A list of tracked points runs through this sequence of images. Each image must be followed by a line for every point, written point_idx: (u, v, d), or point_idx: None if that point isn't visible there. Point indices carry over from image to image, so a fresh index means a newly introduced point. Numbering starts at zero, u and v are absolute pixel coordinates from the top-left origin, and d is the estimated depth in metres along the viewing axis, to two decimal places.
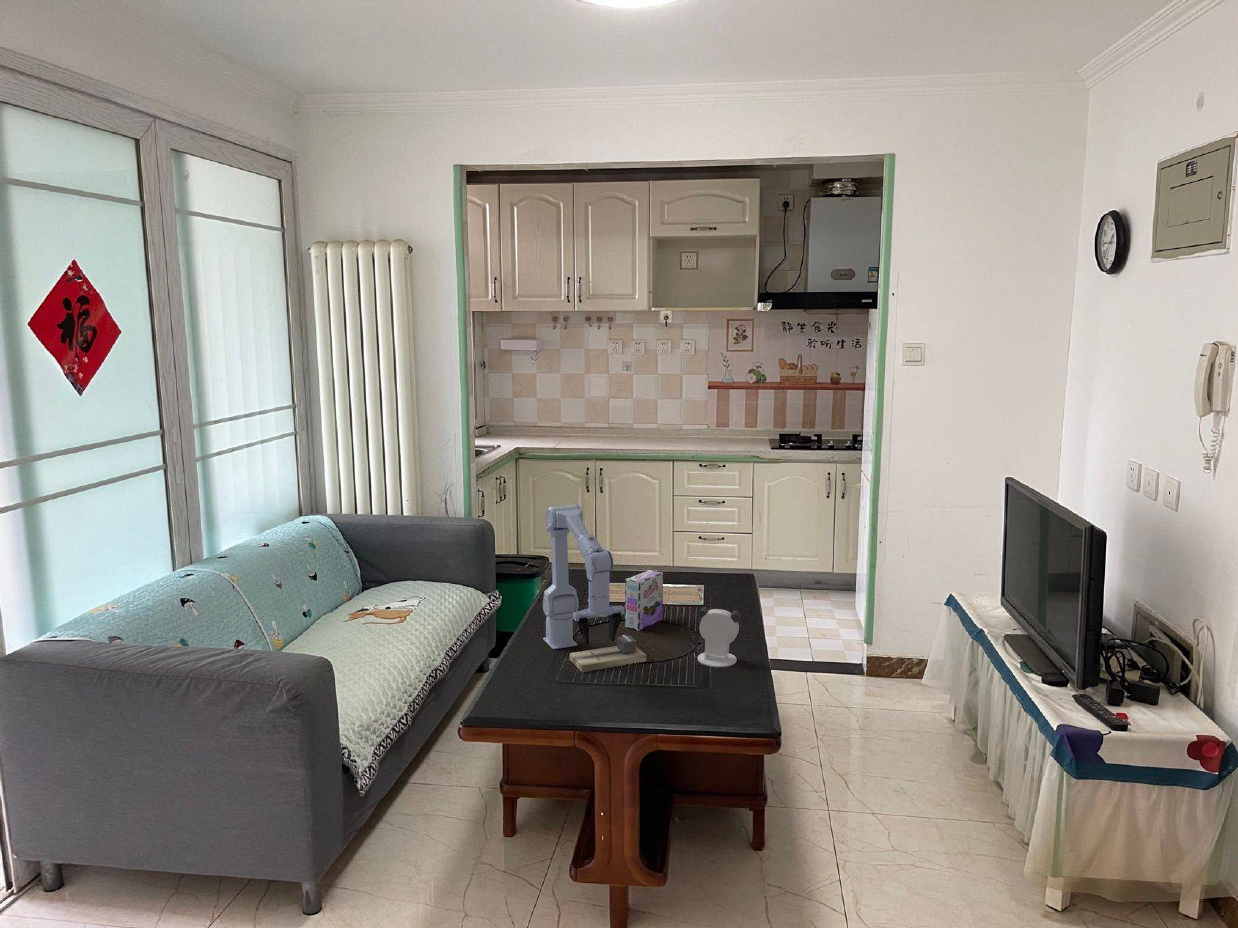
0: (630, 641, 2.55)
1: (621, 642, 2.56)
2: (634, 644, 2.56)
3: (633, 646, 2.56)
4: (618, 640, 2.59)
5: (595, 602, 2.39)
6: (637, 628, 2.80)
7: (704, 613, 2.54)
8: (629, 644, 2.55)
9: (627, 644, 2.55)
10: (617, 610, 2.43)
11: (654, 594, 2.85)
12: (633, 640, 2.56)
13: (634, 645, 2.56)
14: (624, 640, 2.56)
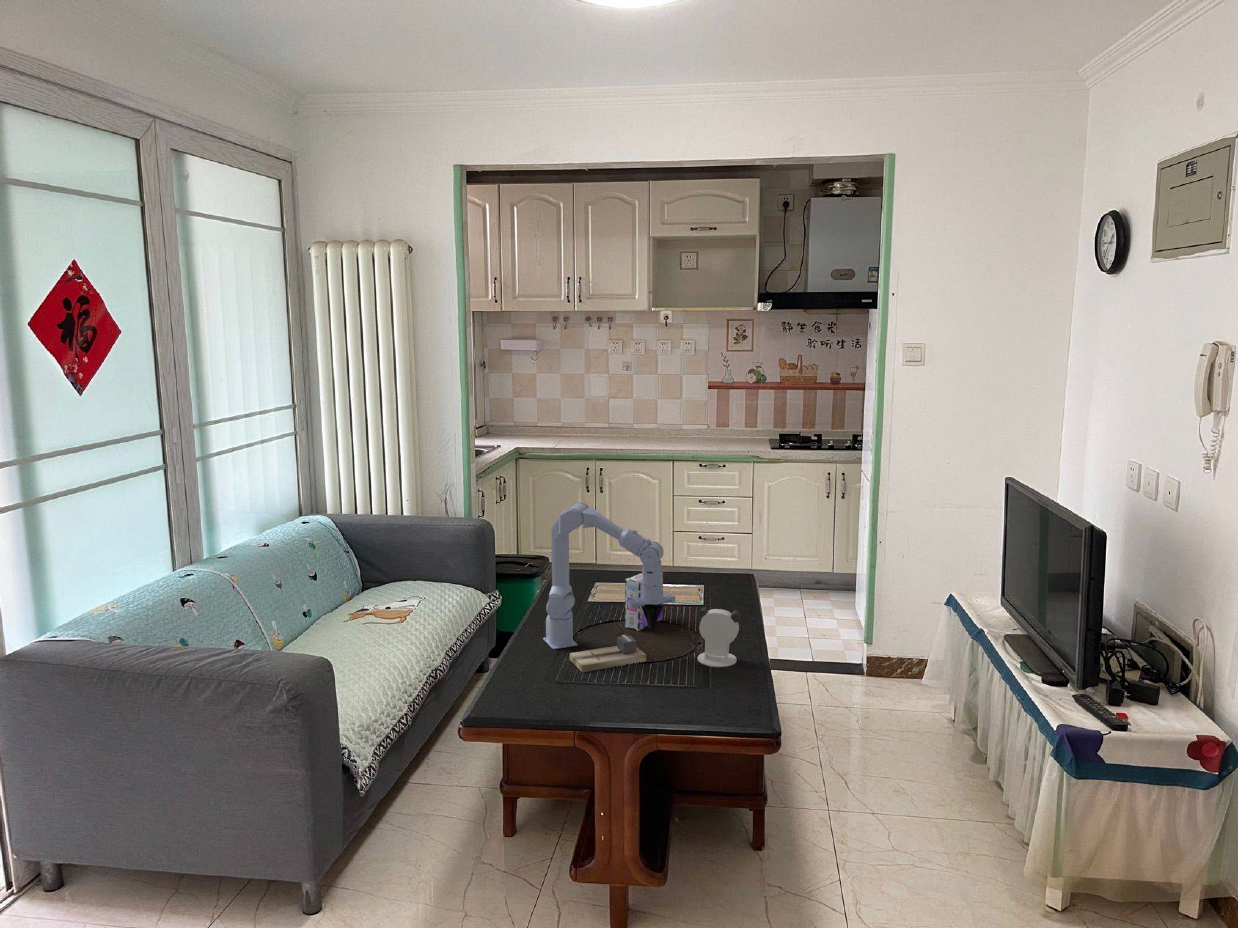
0: (630, 641, 2.55)
1: (621, 642, 2.56)
2: (634, 644, 2.56)
3: (633, 646, 2.56)
4: (618, 640, 2.59)
5: (649, 591, 2.56)
6: (637, 628, 2.80)
7: (704, 613, 2.54)
8: (629, 644, 2.55)
9: (627, 644, 2.55)
10: (668, 598, 2.60)
11: None
12: (633, 640, 2.56)
13: (634, 645, 2.56)
14: (624, 640, 2.56)
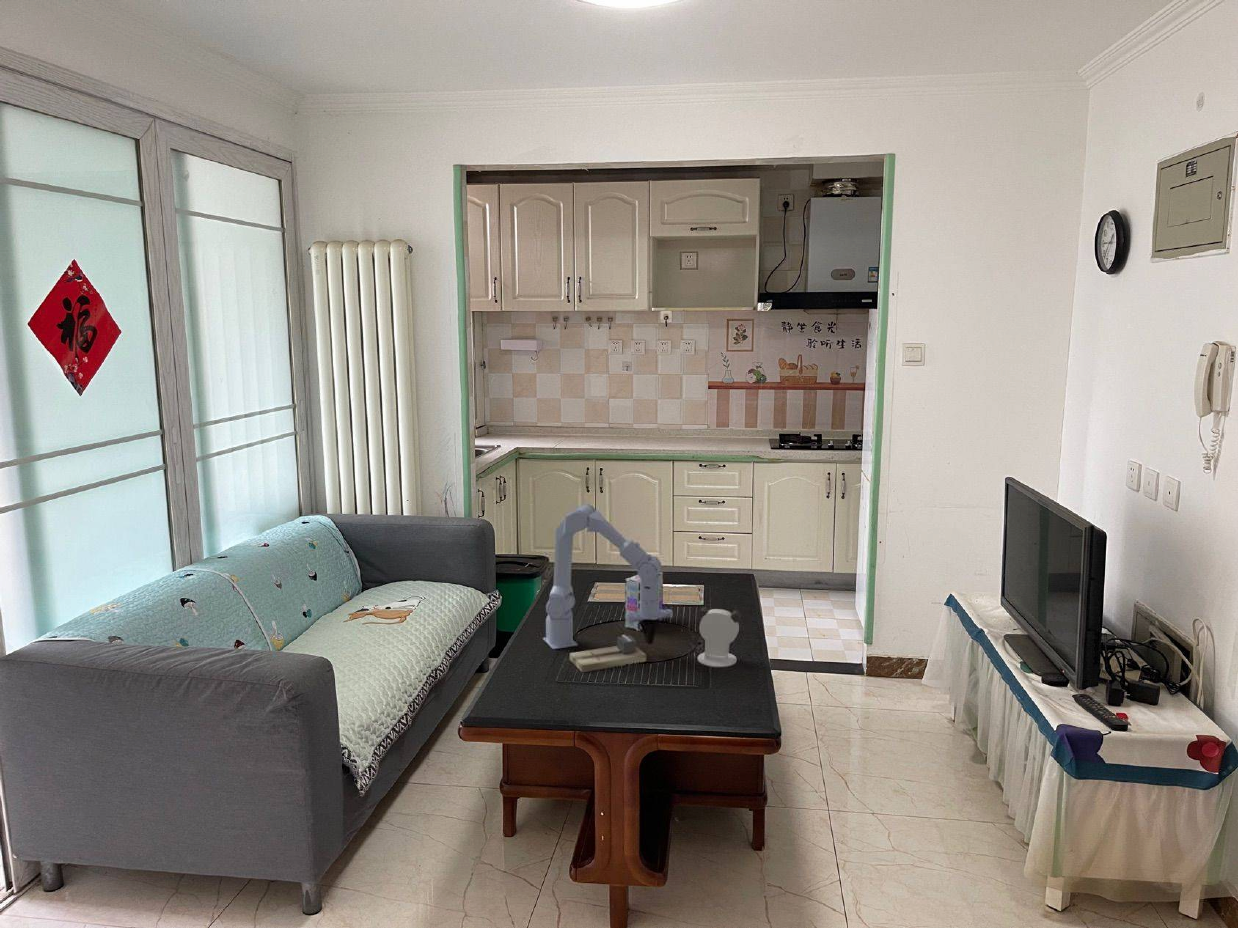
0: (630, 641, 2.55)
1: (621, 642, 2.56)
2: (634, 644, 2.56)
3: (633, 646, 2.56)
4: (618, 640, 2.59)
5: (647, 606, 2.56)
6: (637, 628, 2.80)
7: (704, 613, 2.54)
8: (629, 644, 2.55)
9: (627, 644, 2.55)
10: (666, 613, 2.60)
11: None
12: (633, 640, 2.56)
13: (634, 645, 2.56)
14: (624, 640, 2.56)
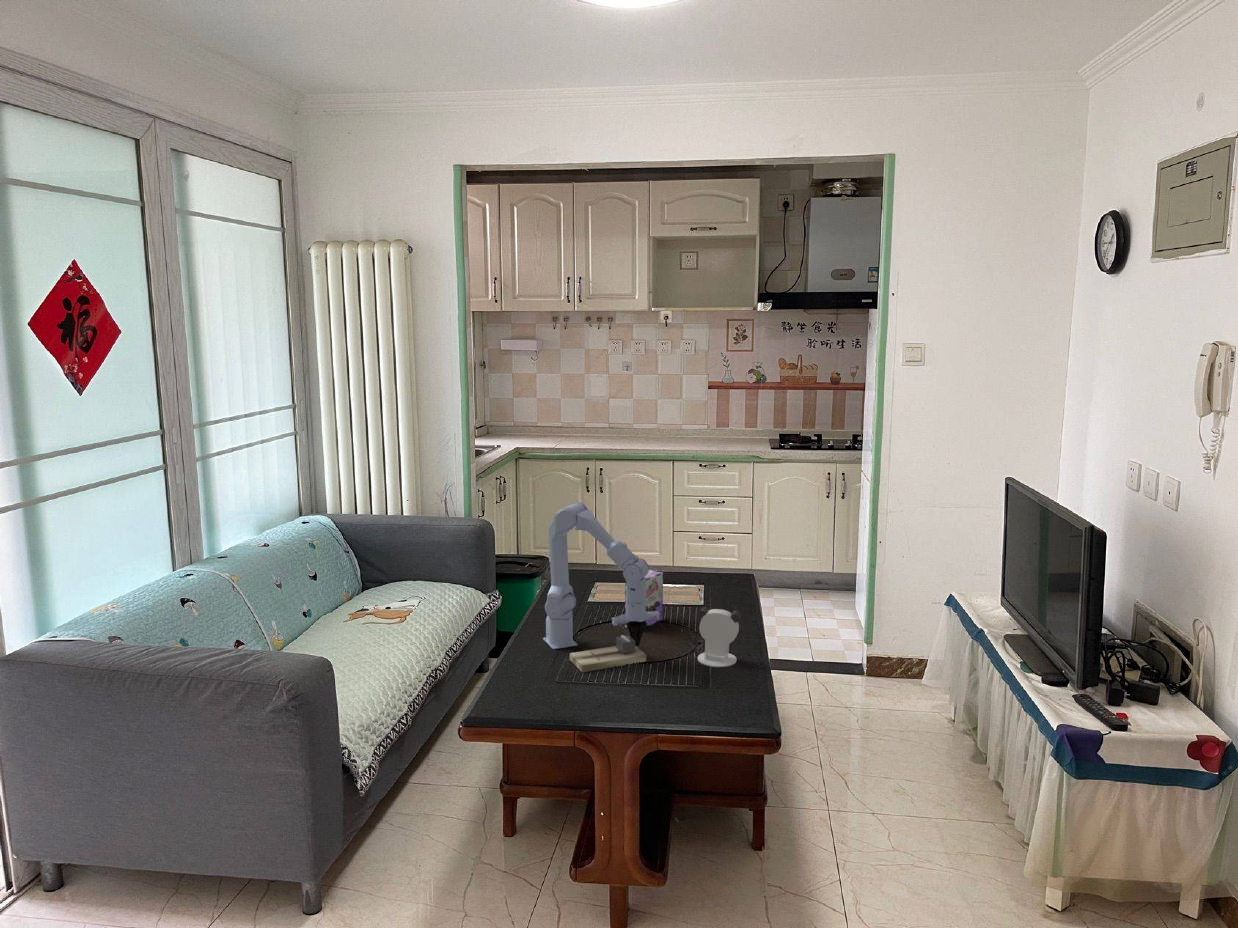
0: (629, 641, 2.55)
1: (620, 642, 2.56)
2: (633, 644, 2.56)
3: (632, 646, 2.56)
4: (616, 640, 2.58)
5: (633, 608, 2.54)
6: None
7: (704, 613, 2.54)
8: (628, 644, 2.55)
9: (626, 644, 2.55)
10: (653, 615, 2.58)
11: (654, 594, 2.85)
12: (632, 640, 2.56)
13: (633, 645, 2.56)
14: (623, 640, 2.56)
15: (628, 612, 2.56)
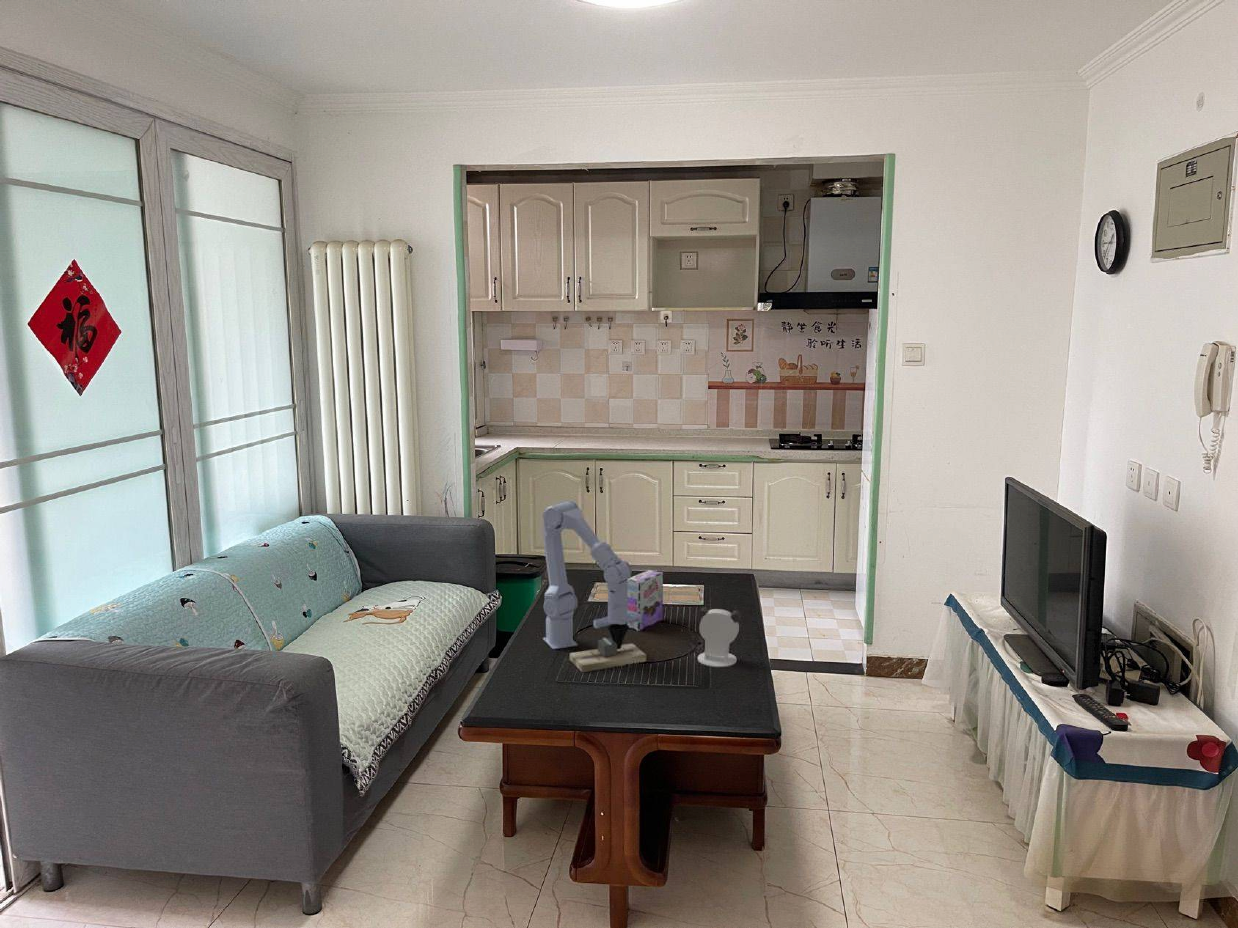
0: (610, 644, 2.53)
1: (601, 645, 2.54)
2: (614, 647, 2.54)
3: (614, 649, 2.54)
4: (598, 643, 2.56)
5: (615, 611, 2.52)
6: (637, 628, 2.80)
7: (704, 613, 2.54)
8: (609, 647, 2.53)
9: (607, 647, 2.53)
10: (635, 618, 2.56)
11: (654, 594, 2.85)
12: (613, 643, 2.54)
13: (614, 648, 2.54)
14: (604, 643, 2.54)
15: (610, 615, 2.53)
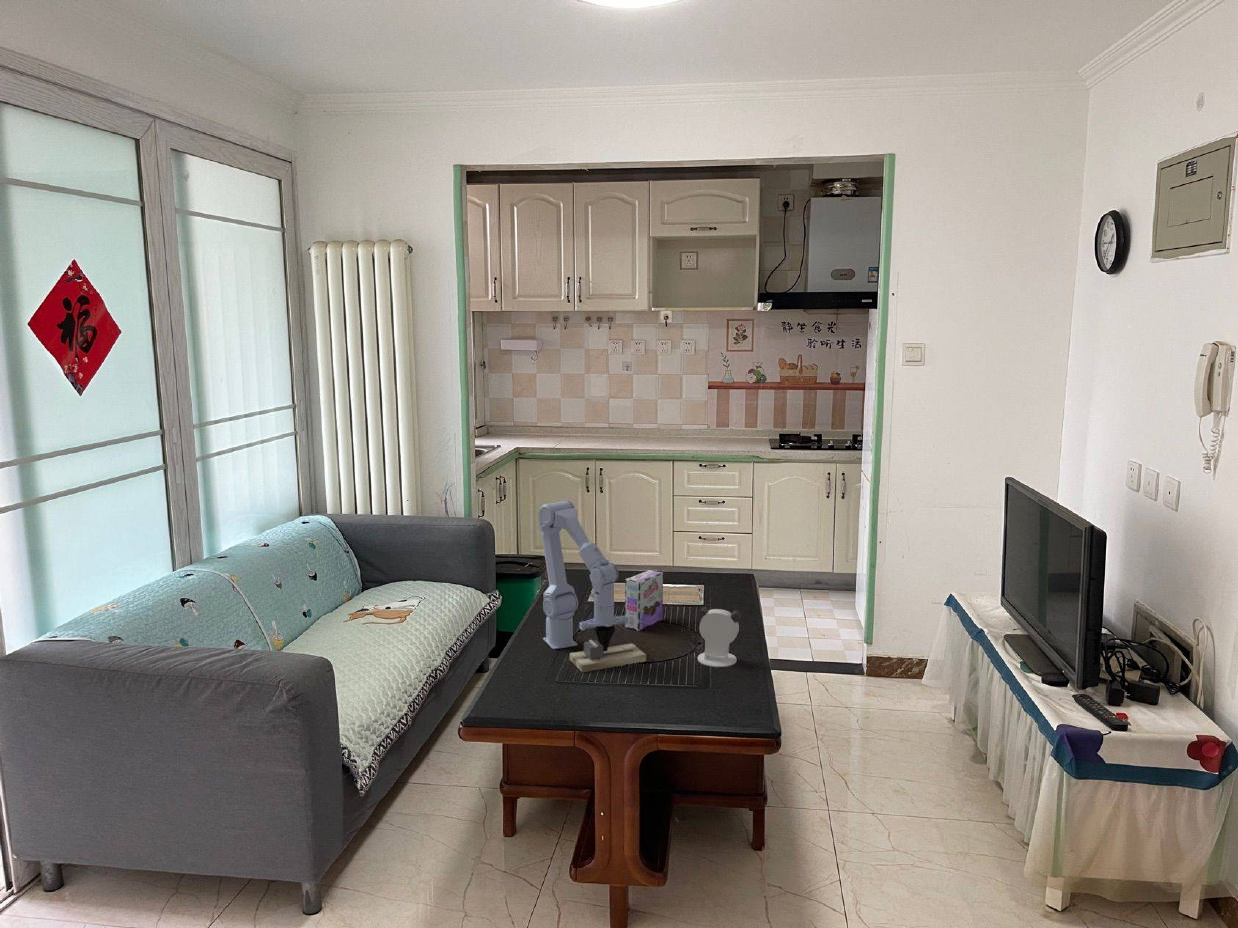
0: (596, 646, 2.51)
1: (587, 647, 2.52)
2: (601, 649, 2.52)
3: (600, 651, 2.52)
4: (584, 645, 2.54)
5: (601, 612, 2.50)
6: (637, 628, 2.80)
7: (704, 613, 2.54)
8: (595, 649, 2.51)
9: (593, 649, 2.51)
10: (621, 620, 2.54)
11: (654, 594, 2.85)
12: (600, 645, 2.52)
13: (601, 650, 2.52)
14: (590, 645, 2.52)
15: (596, 617, 2.52)
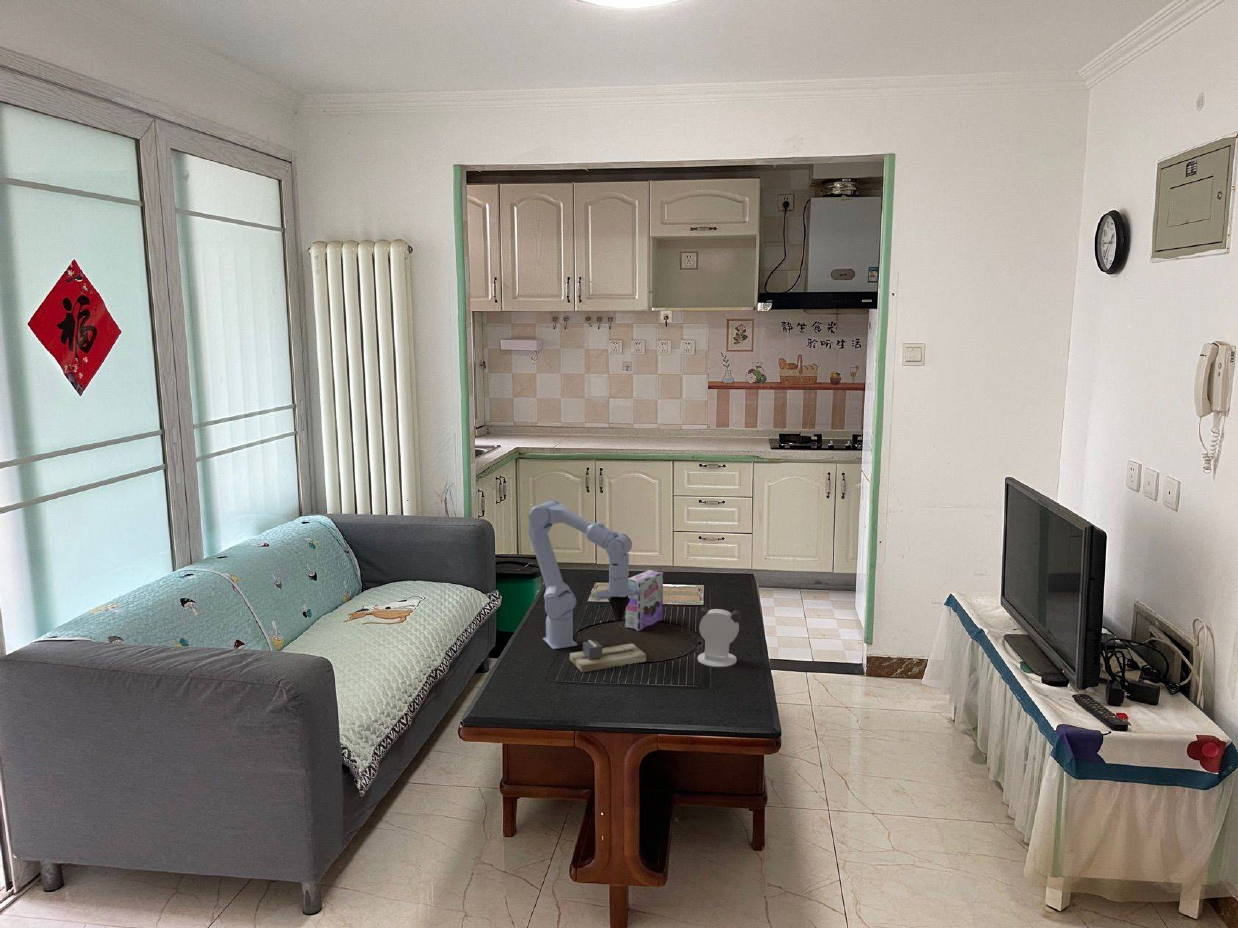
0: (596, 646, 2.51)
1: (587, 647, 2.52)
2: (600, 649, 2.52)
3: (599, 651, 2.52)
4: (583, 646, 2.54)
5: (616, 583, 2.55)
6: (637, 628, 2.80)
7: (704, 613, 2.54)
8: (595, 649, 2.51)
9: (593, 649, 2.51)
10: (635, 591, 2.59)
11: (654, 594, 2.85)
12: (599, 645, 2.52)
13: (600, 650, 2.52)
14: (590, 645, 2.52)
15: (611, 587, 2.56)
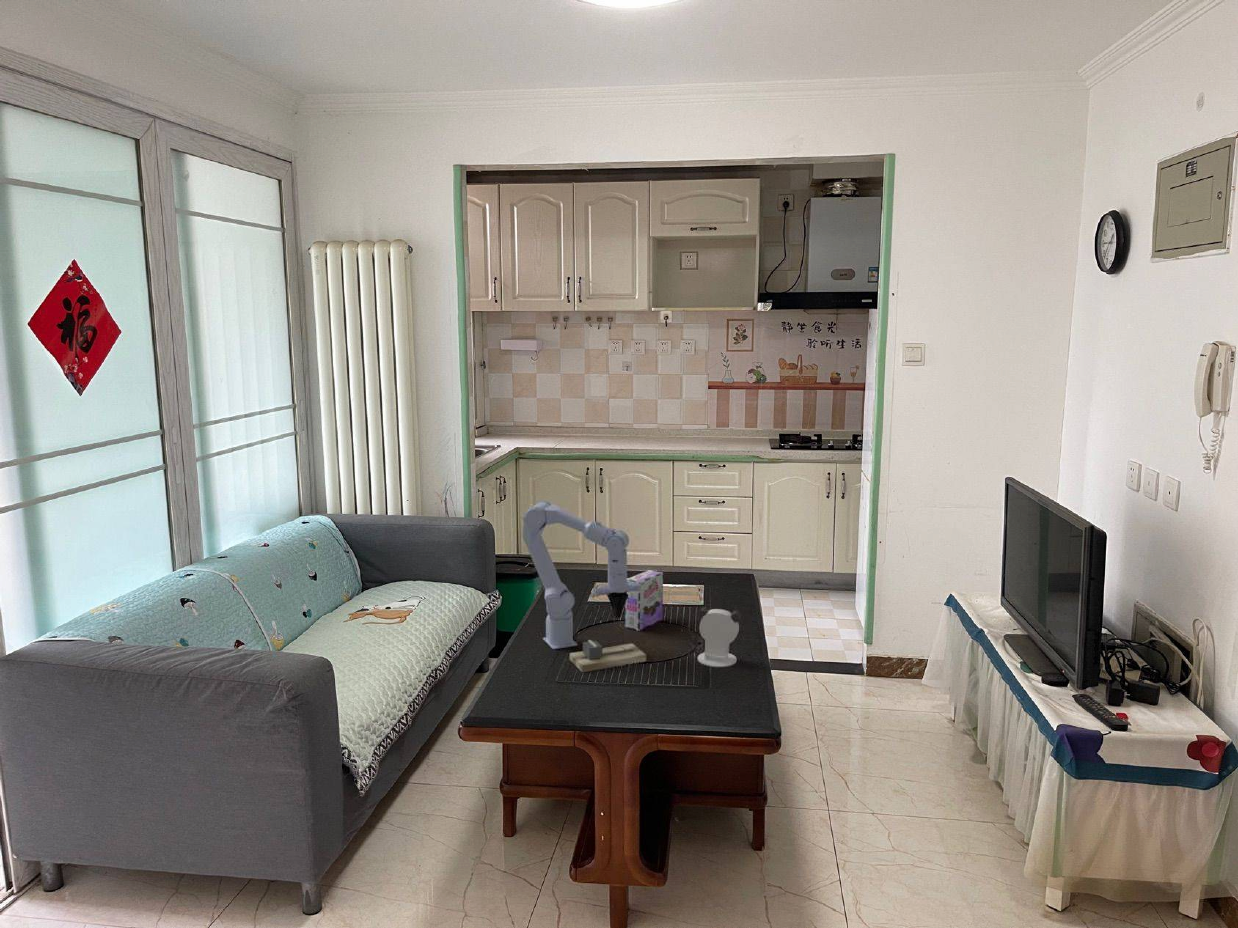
0: (596, 646, 2.51)
1: (587, 647, 2.52)
2: (600, 649, 2.52)
3: (599, 651, 2.52)
4: (583, 646, 2.54)
5: (614, 579, 2.58)
6: (637, 628, 2.80)
7: (704, 613, 2.54)
8: (595, 649, 2.51)
9: (593, 649, 2.51)
10: (634, 587, 2.62)
11: (654, 594, 2.85)
12: (599, 645, 2.52)
13: (600, 650, 2.52)
14: (590, 645, 2.52)
15: (609, 583, 2.60)
